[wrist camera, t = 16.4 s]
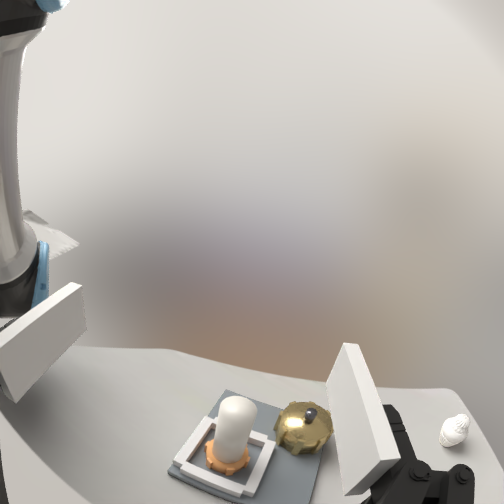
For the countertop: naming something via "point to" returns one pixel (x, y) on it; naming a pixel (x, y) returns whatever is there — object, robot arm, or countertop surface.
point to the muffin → (454, 430)
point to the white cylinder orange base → (231, 436)
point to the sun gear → (303, 428)
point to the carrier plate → (249, 463)
